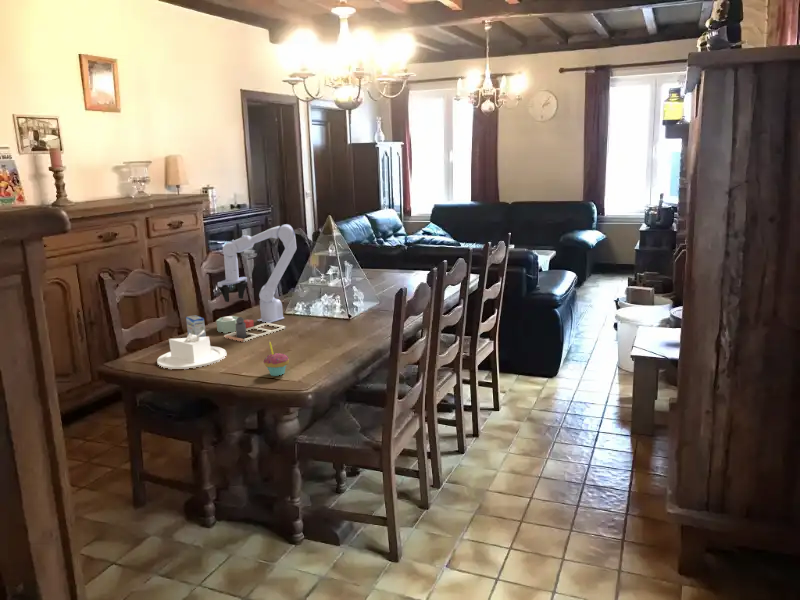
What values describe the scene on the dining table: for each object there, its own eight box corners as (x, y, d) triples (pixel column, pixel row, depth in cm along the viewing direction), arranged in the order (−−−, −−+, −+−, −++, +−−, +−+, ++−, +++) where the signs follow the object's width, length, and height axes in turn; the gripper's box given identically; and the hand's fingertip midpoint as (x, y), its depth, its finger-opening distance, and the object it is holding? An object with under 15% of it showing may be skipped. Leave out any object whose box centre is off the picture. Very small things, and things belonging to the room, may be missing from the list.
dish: (238, 350, 256) (235, 322, 253) (202, 372, 232) (198, 341, 230) (183, 347, 263) (180, 320, 260) (143, 368, 239) (138, 338, 237)
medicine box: (187, 336, 277) (185, 316, 275) (197, 334, 279) (195, 314, 277) (196, 340, 271) (193, 320, 269) (206, 338, 274) (204, 317, 272)
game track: (266, 324, 290) (266, 322, 290) (286, 328, 282) (286, 326, 282) (224, 337, 273) (223, 335, 273) (243, 342, 265) (243, 339, 265)
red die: (247, 326, 288) (246, 319, 288) (253, 326, 287) (253, 319, 287) (243, 328, 285) (242, 321, 285) (250, 328, 284) (249, 321, 284)
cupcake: (261, 377, 223) (258, 343, 221) (269, 369, 232) (266, 336, 229) (286, 378, 222) (283, 343, 219) (293, 369, 230) (290, 336, 228)
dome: (230, 324, 288) (229, 314, 287) (238, 326, 284) (237, 316, 283) (218, 327, 283) (217, 318, 282) (227, 329, 280) (226, 319, 279)
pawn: (244, 335, 275) (242, 315, 273) (248, 337, 271) (246, 317, 269) (235, 337, 273) (233, 317, 271) (238, 339, 269) (236, 318, 267)
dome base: (230, 326, 290) (228, 315, 289) (244, 329, 284) (242, 318, 283) (214, 330, 284) (212, 319, 283) (228, 334, 278) (226, 322, 277)
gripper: (239, 266, 298) (241, 295, 301) (212, 271, 287) (214, 301, 290) (249, 267, 294) (251, 297, 297) (222, 273, 283) (224, 304, 286)
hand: (234, 300), depth 293 cm, fingers open, 7 cm apart
